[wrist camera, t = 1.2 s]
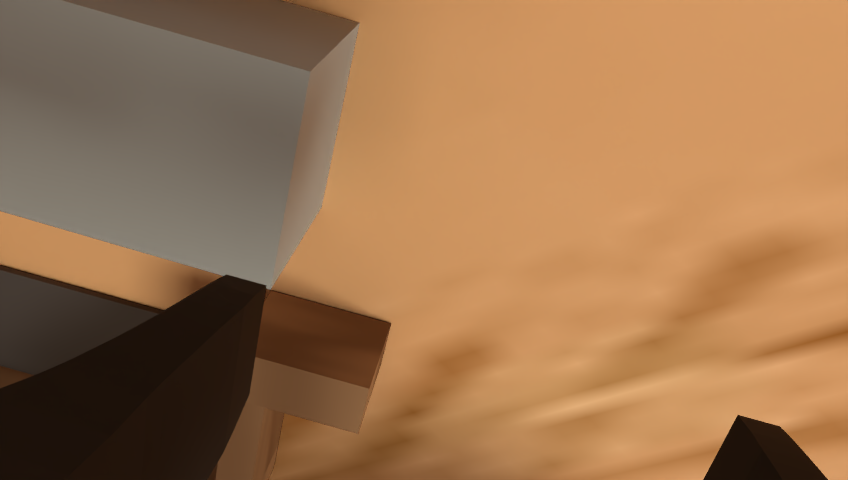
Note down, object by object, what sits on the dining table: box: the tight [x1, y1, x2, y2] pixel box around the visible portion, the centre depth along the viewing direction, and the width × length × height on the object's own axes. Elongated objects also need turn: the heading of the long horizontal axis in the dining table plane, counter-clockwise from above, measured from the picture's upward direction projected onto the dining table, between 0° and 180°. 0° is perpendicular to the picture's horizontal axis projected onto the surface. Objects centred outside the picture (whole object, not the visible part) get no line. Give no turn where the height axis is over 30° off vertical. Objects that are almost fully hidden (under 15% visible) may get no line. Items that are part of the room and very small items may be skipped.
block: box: [0, 0, 359, 290], centre depth 18 cm, size 7×5×4 cm
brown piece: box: [0, 266, 391, 480], centre depth 20 cm, size 17×19×4 cm
